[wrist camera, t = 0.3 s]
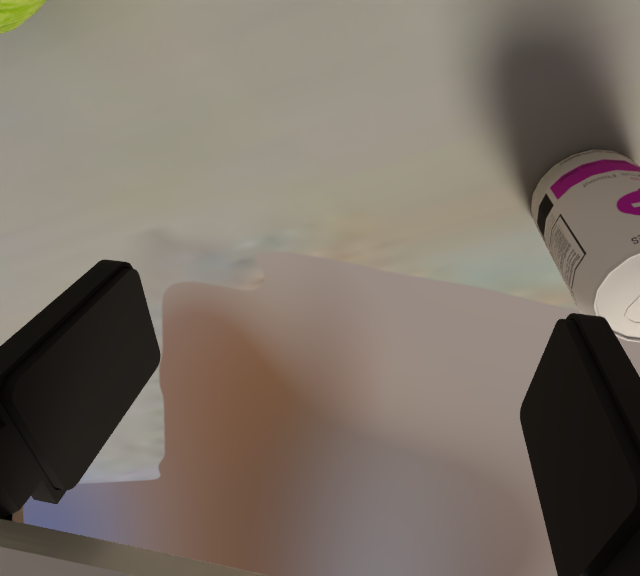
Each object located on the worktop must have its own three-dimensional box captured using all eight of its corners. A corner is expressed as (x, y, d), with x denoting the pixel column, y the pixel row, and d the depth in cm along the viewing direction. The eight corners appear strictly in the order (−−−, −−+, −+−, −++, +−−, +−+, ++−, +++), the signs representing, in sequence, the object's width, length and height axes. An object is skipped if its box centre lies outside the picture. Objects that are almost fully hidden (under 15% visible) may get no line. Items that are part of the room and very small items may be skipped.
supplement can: (571, 130, 34) (657, 208, 22) (662, 172, 35) (795, 270, 22) (509, 215, 39) (552, 318, 27) (590, 251, 39) (668, 368, 27)
